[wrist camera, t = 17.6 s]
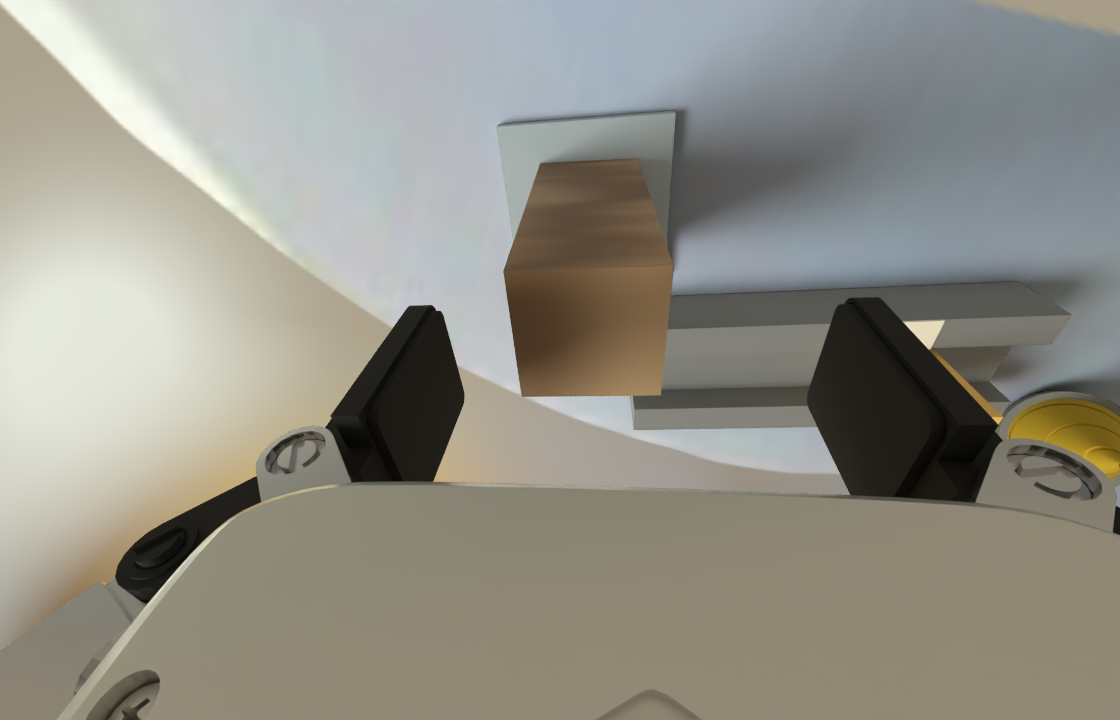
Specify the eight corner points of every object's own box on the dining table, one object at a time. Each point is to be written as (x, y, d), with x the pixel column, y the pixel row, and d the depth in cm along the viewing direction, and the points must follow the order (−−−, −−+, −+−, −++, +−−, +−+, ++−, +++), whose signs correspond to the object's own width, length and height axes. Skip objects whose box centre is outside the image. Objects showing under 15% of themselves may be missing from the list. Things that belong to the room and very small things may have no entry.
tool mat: (673, 110, 18) (675, 113, 17) (663, 272, 22) (664, 277, 22) (498, 124, 18) (496, 126, 18) (520, 279, 23) (519, 284, 22)
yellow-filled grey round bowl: (967, 451, 29) (1006, 487, 21) (1009, 374, 28) (1068, 379, 20) (1082, 495, 26) (1181, 557, 18) (1134, 411, 25) (1264, 435, 17)
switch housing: (1017, 281, 21) (1073, 316, 19) (956, 385, 25) (996, 425, 23) (631, 297, 23) (636, 331, 20) (629, 392, 27) (633, 431, 24)
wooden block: (637, 158, 18) (673, 265, 10) (633, 250, 21) (661, 395, 13) (539, 163, 19) (503, 271, 11) (547, 253, 21) (521, 396, 13)
